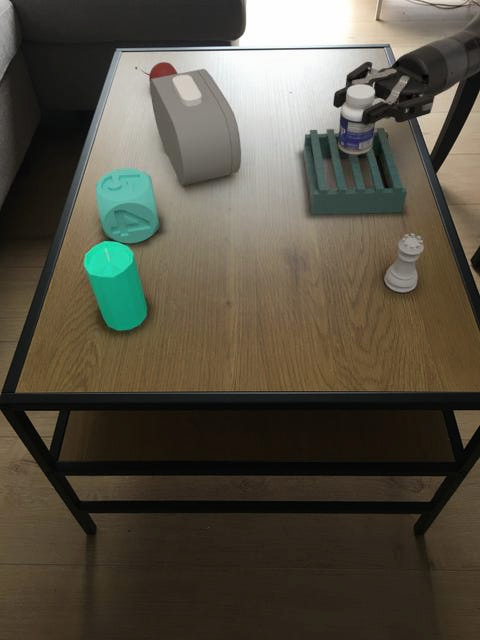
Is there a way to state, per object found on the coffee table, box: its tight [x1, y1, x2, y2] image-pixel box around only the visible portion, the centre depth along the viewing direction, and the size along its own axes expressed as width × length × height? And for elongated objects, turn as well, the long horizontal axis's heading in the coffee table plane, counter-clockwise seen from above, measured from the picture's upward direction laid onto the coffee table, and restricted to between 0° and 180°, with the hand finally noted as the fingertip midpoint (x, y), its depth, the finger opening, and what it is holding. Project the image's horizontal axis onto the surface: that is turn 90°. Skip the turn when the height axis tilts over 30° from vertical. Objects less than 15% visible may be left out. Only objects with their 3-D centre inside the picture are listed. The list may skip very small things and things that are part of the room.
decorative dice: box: [95, 167, 160, 244], centre depth 81 cm, size 8×8×8 cm
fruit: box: [134, 61, 179, 82], centre depth 107 cm, size 6×6×8 cm
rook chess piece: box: [383, 233, 425, 294], centre depth 72 cm, size 4×4×8 cm
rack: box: [303, 127, 408, 216], centre depth 87 cm, size 14×16×5 cm
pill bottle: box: [338, 84, 376, 155], centre depth 80 cm, size 5×5×9 cm
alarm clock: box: [149, 68, 242, 186], centre depth 89 cm, size 21×10×13 cm, turn 19°
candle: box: [83, 240, 148, 332], centre depth 68 cm, size 6×6×12 cm
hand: (349, 109), depth 77 cm, fingers closed on pill bottle, 5 cm apart
